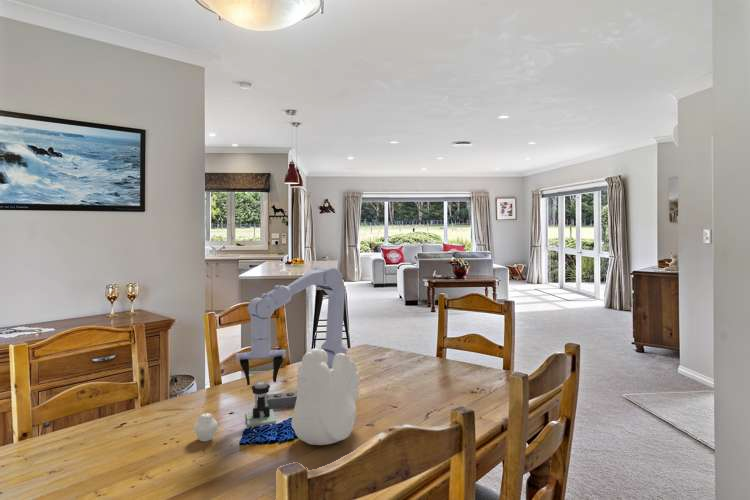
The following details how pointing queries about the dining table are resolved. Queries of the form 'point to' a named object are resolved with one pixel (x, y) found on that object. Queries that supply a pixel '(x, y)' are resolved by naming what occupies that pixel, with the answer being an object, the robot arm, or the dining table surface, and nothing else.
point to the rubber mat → (260, 419)
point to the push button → (260, 400)
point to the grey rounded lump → (205, 427)
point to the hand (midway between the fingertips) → (261, 382)
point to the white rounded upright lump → (325, 398)
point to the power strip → (281, 400)
